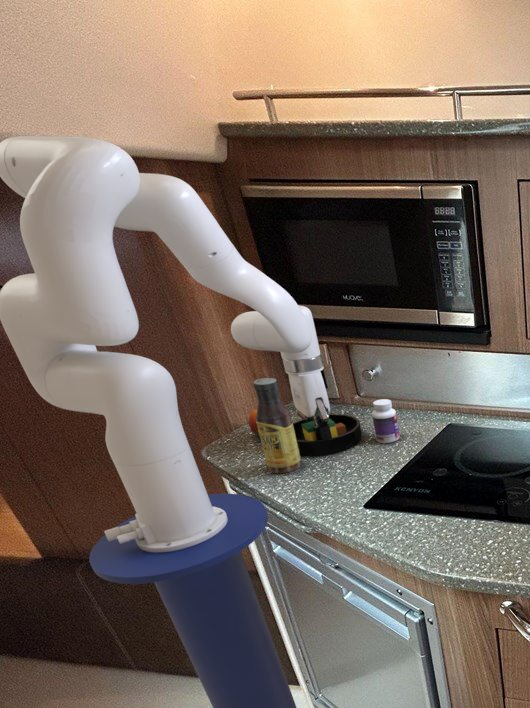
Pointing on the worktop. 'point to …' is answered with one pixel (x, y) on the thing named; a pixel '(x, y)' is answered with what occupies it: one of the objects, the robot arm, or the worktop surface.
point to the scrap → (340, 429)
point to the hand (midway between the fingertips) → (320, 437)
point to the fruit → (253, 422)
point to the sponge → (310, 433)
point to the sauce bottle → (275, 428)
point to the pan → (333, 443)
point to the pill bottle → (385, 421)
